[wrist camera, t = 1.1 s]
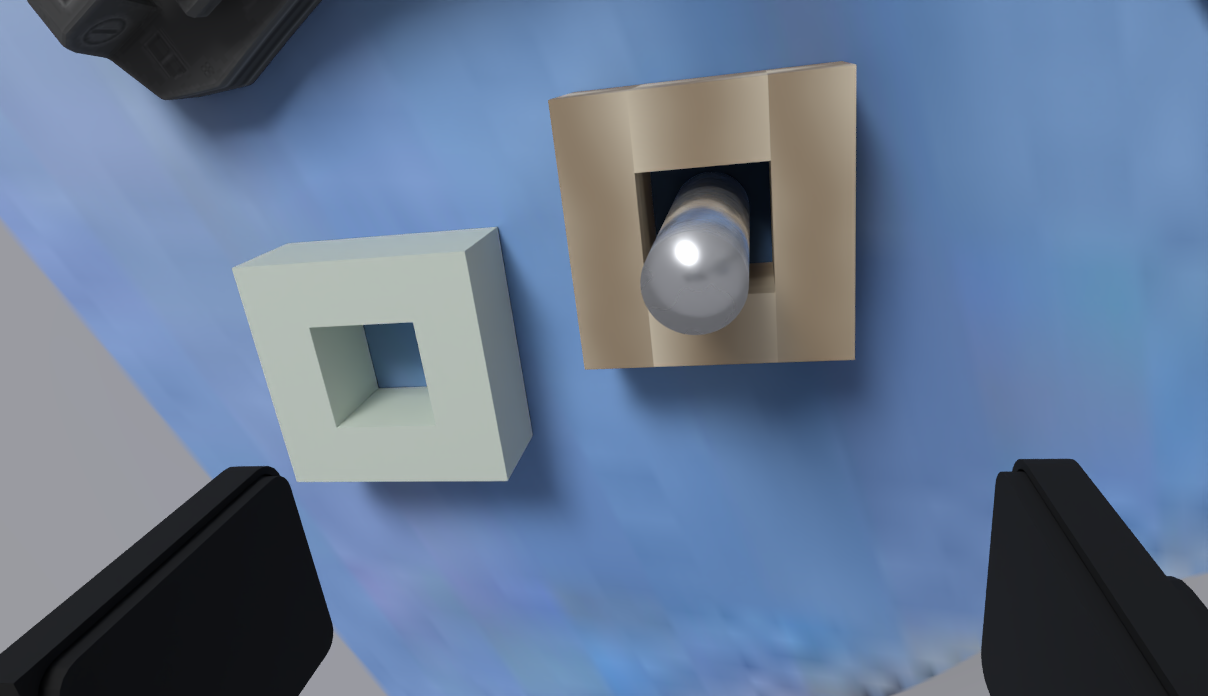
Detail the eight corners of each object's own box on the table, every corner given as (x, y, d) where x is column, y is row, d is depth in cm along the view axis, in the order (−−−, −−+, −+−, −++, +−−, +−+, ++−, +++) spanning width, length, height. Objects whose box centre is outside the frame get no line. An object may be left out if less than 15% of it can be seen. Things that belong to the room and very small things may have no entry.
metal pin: (748, 168, 29) (746, 227, 20) (751, 243, 30) (751, 333, 21) (670, 175, 30) (634, 235, 21) (676, 248, 31) (645, 337, 22)
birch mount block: (842, 61, 27) (856, 64, 23) (842, 321, 31) (854, 359, 27) (573, 92, 29) (548, 99, 25) (603, 332, 33) (584, 369, 29)
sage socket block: (497, 226, 32) (464, 251, 28) (532, 435, 35) (507, 481, 32) (287, 243, 34) (231, 268, 30) (341, 438, 37) (297, 481, 34)
